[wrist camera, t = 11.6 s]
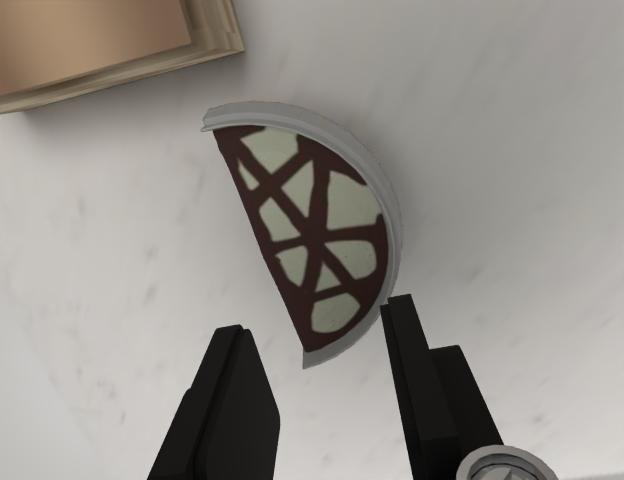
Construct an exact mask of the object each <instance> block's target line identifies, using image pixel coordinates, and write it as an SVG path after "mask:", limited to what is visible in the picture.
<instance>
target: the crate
mask: <svg viewBox="0 0 624 480" xmlns="http://www.w3.org/2000/svg"><path fill="white" fill-rule="evenodd" d="M184 2H185V6H186V9H187V12H188V16H189V19H190V23H191V26H192V30H193V33H194V36H195V40H196V43H197V45H195V46H191V47H188V48H184V49H180V50H177V51H173V52H169V53H166V54H162V55H158V56H155V57H151V58H147V59H144V60H140V61H136V62H133V63H129V64H125V65H122V66H118V67H115V68H111V69H107V70H104V71H100V72H96V73H93V74H89V75H85V76H82V77H78V78H74V79H71V80H67V81H63V82H60V83H56V84H52V85H49V86H45V87H41V88H38V89H34V90H30V91H27V92H23V93H19V94H16V95H12V96H8V97H5V98H1V99H0V114H6V113H12V112H18V111H23V110H27V109H30V108H34V107H38V106H41V105H45V104H49V103H53V102H56V101H60V100H64V99H68V98H71V97H75V96H79V95H83V94H86V93H90V92H94V91H98V90H101V89H105V88H109V87H113V86H116V85H120V84H124V83H128V82H131V81H135V80H139V79H142V78H146V77H150V76H154V75H157V74H161V73H165V72H169V71H172V70H176V69H180V68H184V67H187V66H191V65H195V64H199V63H202V62H206V61H210V60H214V59H217V58H221V57H225V56H229V55H232V54H236V53H240V52H243V51H245V47H244V43H243V40H242V36H241V32H240V29H239V25H238V21H237V18H236V14H235V10H234V6H233V3H232V0H184Z"/></svg>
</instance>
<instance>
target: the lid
mask: <svg viewBox="0 0 624 480" xmlns="http://www.w3.org/2000/svg"><path fill="white" fill-rule="evenodd" d="M195 45H197V43H196V40H195V36H194V33H193V30H192V26H191V23H190V19H189V16H188V12H187V9H186V6H185V2H184V0H0V99H1V98H5V97H8V96H12V95H16V94H19V93H23V92H27V91H30V90H34V89H38V88H41V87H45V86H49V85H52V84H56V83H60V82H63V81H67V80H71V79H74V78H78V77H82V76H85V75H89V74H93V73H96V72H100V71H104V70H107V69H111V68H115V67H118V66H122V65H125V64H129V63H133V62H136V61H140V60H144V59H147V58H151V57H155V56H158V55H162V54H166V53H169V52H173V51H177V50H180V49H184V48H188V47H191V46H195Z"/></svg>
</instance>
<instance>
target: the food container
mask: <svg viewBox="0 0 624 480" xmlns="http://www.w3.org/2000/svg"><path fill="white" fill-rule="evenodd" d="M202 121H203V123H204V125H205V126H204V127H203V128H202V129H201V132H204V131H210V130H213V133H214V136H215V139H216V141H217V144H218V147H219V150H220V152H221V154H222V155H223V157H224V159H225V161H226V163H227V166H228V168H229V170H230V173H231V175H232V177H233V180H234V182H235V185H236V187H237V190H238V192H239V195H240V197H241V200H242V202H243V205H244V207H245V210H246V213H247V215H248V218H249V220H250V223H251V226H252V228H253V231H254V234H255V237H256V239H257V242H258V245H259V247H260V250H261V253H262V255H263V258H264V260H265V262H266V264H267V266H268V269H269V271H270V273H271V275H272V277H273V279H274V281H275V283H276V285H277V287H278V290H279V292H280V294H281V296H282V298H283V301H284V303H285V305H286V308H287V310H288V312H289V315H290V317H291V319H292V322H293V324H294V327H295V329H296V331H297V334H298V336H299V338H300V341H301V343H302V345H303V370H304V369H307V368H310V367H313V366H316V365H319V364H321V363H324V362H326V361H328V360H330V359H332V358H334V357H336V356H338V355H339V354H341V353H342V352H344V351H345V350H347V349H348V348H350V347H351V346H352V345H354V344H355V343H356V342H357V341H358V340H359V339H360V338H361V337H362V336H363V335H364V334H366V332H367V331H368V330H369V328H370V327H371V326H372V325H373V323H374V322H375V321H376V320H377V318H378V316H379V315H380V314H381V312H380V307H379V306H380V305H385V304H387V302H388V300H387V298H389V297H390V296H391V294H392V291H393V288H394V285H395V282H396V279H397V275H398V269H399V263H400V257H401V250H402V221H401V215H400V210H399V204H398V201H397V199H396V196H395V193H394V190H393V188H392V185H391V183H390V181H389V179H388V177H387V176H386V174H385V172H384V171H383V169H382V167H381V165H380V164H379V163H378V161H377V160H376V159H375V158H374V156H373V155H372V154H371V153H370V152H369V150H368V149H367V148H366V147H365V146H364V145H363V144H362V143H361V142H360V141H358V140H357V139H356V138H355V137H354V136H353V135H352V134H350V133H349V132H348V131H347V130H345V129H344V128H342V127H340V126H339V125H337V124H336V123H334V122H332V121H331V120H329V119H327V118H326V117H323V116H321V115H318V114H316V113H314V112H311V111H309V110H306V109H304V108H300V107H296V106H292V105H287V104H283V103H278V102H263V101H249V102H238V103H229V104H226V105H222V106H218V107H215V108H211V109H209V110H208V112H207V113H206V115H205V117H204V118H203V120H202Z"/></svg>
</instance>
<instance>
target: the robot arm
mask: <svg viewBox="0 0 624 480" xmlns="http://www.w3.org/2000/svg"><path fill="white" fill-rule="evenodd" d="M387 300H388V304H385V305H380V306H379V307H380V312H381V317H382V322H383V327H384V333H385V338H386V343H387V348H388V353H389V358H390V364H391V369H392V374H393V379H394V384H395V389H396V394H397V400H398V405H399V410H400V415H401V420H402V425H403V431H404V436H405V441H406V446H407V451H408V456H409V460H410V465H411V470H412V475H413V480H558V478H557V476H556V475H555V473H554V471H553V470H551V469H550V468H549V467H548V466H547V465H546V464H545V463H544V462H543V461H542V460H541V459H539V458H538V457H536V456H534V455H533V454H531V453H529V452H527V451H525V450H522V449H519V448H516V447H513V446H505V445H504V443H503V441H502V439H501V437H500V434H499V432H498V430H497V428H496V425H495V423H494V421H493V419H492V417H491V414H490V412H489V410H488V408H487V405H486V403H485V401H484V399H483V396H482V394H481V392H480V390H479V388H478V385H477V383H476V381H475V379H474V376H473V374H472V372H471V370H470V367H469V365H468V363H467V361H466V359H465V356H464V354H463V352H462V350H461V348H460V346H459V345H454V346H447V347H441V348H435V349H429V347H428V344H427V341H426V338H425V335H424V332H423V329H422V326H421V323H420V320H419V317H418V314H417V311H416V308H415V305H414V303H413V300H412V297H411V294H406V295H400V296H395V297H389V298H387ZM279 432H280V415H279V411H278V408H277V405H276V402H275V399H274V396H273V393H272V390H271V387H270V385H269V382H268V379H267V376H266V373H265V370H264V367H263V364H262V362H261V359H260V356H259V353H258V350H257V347H256V344H255V341H254V339H253V336H252V333H251V331H250V330H249V329H243V327H242V326H241V325H239V324H238V325H232V326H227V327H221V328H217V329H216V330H215V332H214V334H213V337H212V339H211V341H210V344H209V346H208V348H207V351H206V353H205V355H204V358H203V360H202V362H201V365H200V367H199V369H198V372H197V374H196V376H195V379H194V381H193V383H192V386H191V388H190V389H188V390H187V391H186V393H185V394H184V396H183V398H182V401H181V403H180V405H179V407H178V410H177V412H176V414H175V416H174V419H173V421H172V423H171V426H170V428H169V430H168V432H167V435H166V437H165V439H164V442H163V444H162V446H161V448H160V451H159V453H158V455H157V457H156V460H155V462H154V464H153V467H152V469H151V471H150V473H149V476H148V478H147V480H273V475H274V468H275V461H276V453H277V446H278V439H279Z"/></svg>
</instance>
